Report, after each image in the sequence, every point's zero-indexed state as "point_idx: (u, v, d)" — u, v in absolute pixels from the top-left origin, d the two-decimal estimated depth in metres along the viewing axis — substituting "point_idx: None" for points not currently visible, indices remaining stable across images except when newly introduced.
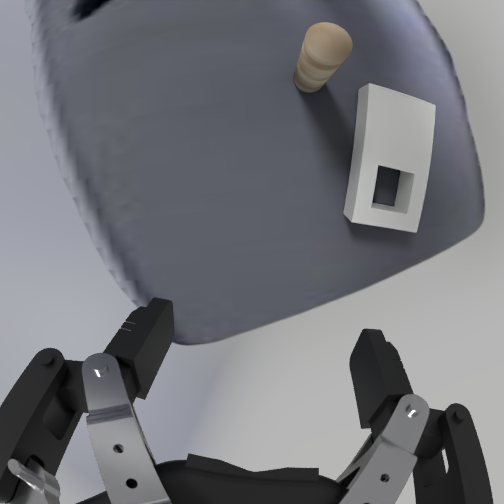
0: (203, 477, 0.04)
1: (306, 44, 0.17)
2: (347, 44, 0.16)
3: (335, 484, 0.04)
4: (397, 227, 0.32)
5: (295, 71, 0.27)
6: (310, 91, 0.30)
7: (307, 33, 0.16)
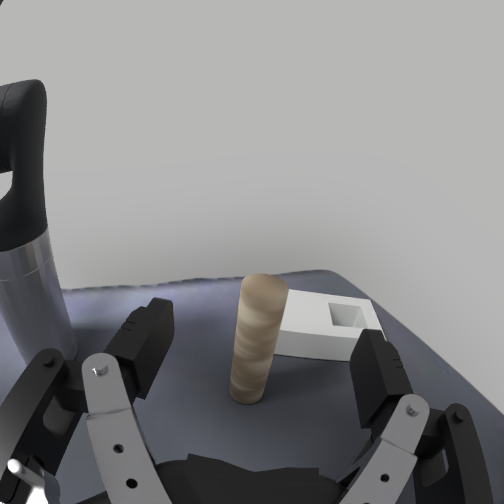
0: (203, 477, 0.04)
1: (271, 301, 0.21)
2: (265, 276, 0.24)
3: (335, 484, 0.04)
4: (373, 311, 0.39)
5: (248, 386, 0.26)
6: None
7: (258, 297, 0.21)
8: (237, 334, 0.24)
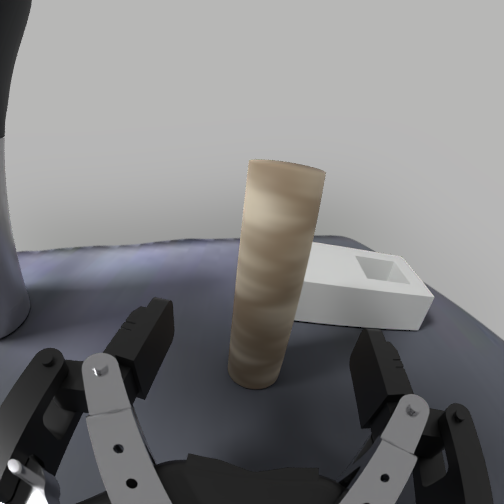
0: (203, 477, 0.04)
1: (302, 176, 0.12)
2: (285, 162, 0.15)
3: (335, 484, 0.04)
4: (409, 267, 0.30)
5: (259, 357, 0.17)
6: None
7: (279, 168, 0.12)
8: (241, 256, 0.15)
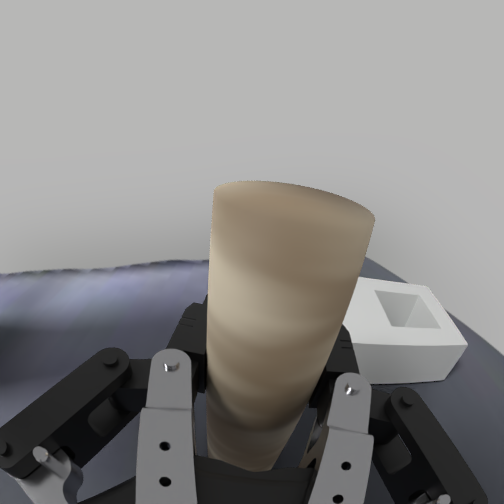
0: (203, 477, 0.04)
1: (334, 236, 0.05)
2: (291, 186, 0.08)
3: None
4: (437, 302, 0.23)
5: (244, 465, 0.10)
6: None
7: (279, 217, 0.05)
8: (209, 360, 0.08)
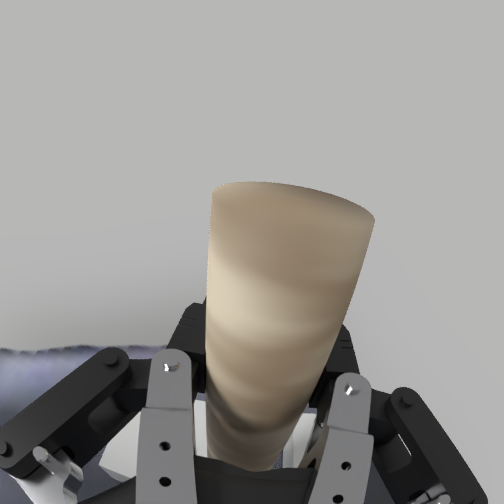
0: (203, 477, 0.04)
1: (333, 238, 0.05)
2: (290, 187, 0.08)
3: None
4: None
5: (244, 467, 0.10)
6: None
7: (278, 219, 0.05)
8: (208, 362, 0.08)
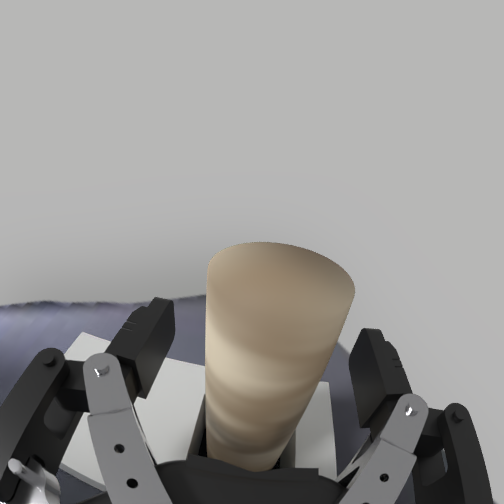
0: (203, 477, 0.04)
1: (311, 325, 0.06)
2: (281, 249, 0.09)
3: (335, 484, 0.04)
4: (328, 422, 0.13)
5: None
6: None
7: (263, 311, 0.06)
8: (207, 398, 0.09)
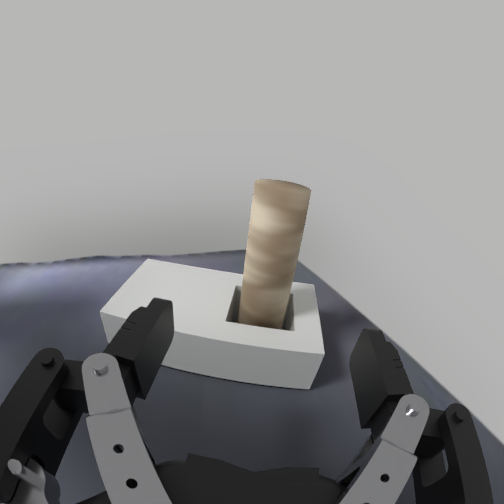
0: (203, 477, 0.04)
1: (293, 195, 0.17)
2: (282, 181, 0.20)
3: (335, 484, 0.04)
4: (314, 302, 0.25)
5: None
6: None
7: (277, 189, 0.17)
8: (248, 251, 0.20)
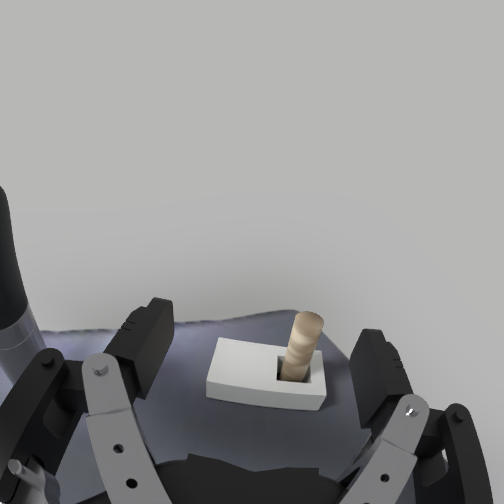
0: (203, 477, 0.04)
1: (315, 330, 0.34)
2: (308, 313, 0.37)
3: (335, 484, 0.04)
4: (321, 364, 0.42)
5: None
6: None
7: (307, 328, 0.34)
8: (290, 349, 0.37)
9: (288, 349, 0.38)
